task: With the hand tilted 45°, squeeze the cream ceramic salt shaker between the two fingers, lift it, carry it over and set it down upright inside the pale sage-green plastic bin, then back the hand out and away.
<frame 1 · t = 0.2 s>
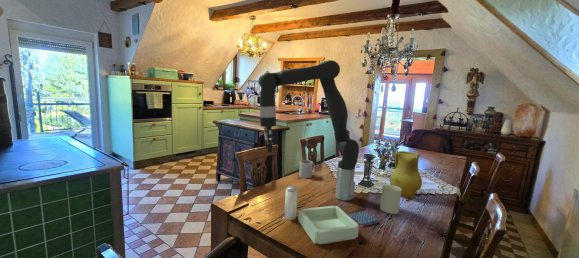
hand: (268, 149, 123), 28 cm above the table, tool pointing down, fingers open, 8 cm apart
sage bin: (326, 228, 109), on the table
salt shaker: (290, 216, 117), on the table
can: (389, 209, 130), on the table
pitcher: (403, 193, 153), on the table
mug: (307, 175, 175), on the table
woven mat: (362, 221, 118), on the table
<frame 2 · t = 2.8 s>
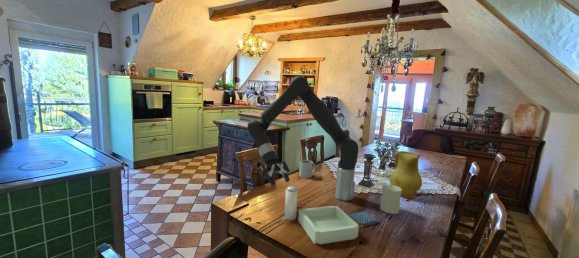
hand: (281, 183, 121), 14 cm above the table, tool tilted 45°, fingers open, 8 cm apart
nothing on the table moved.
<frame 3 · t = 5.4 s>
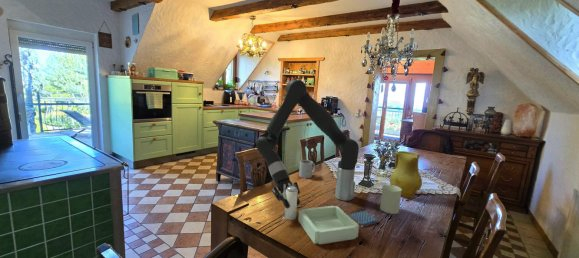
hand: (293, 205, 115), 6 cm above the table, tool tilted 45°, fingers closed on salt shaker, 5 cm apart
salt shaker: (290, 216, 117), on the table, touching gripper
everything else where it was.
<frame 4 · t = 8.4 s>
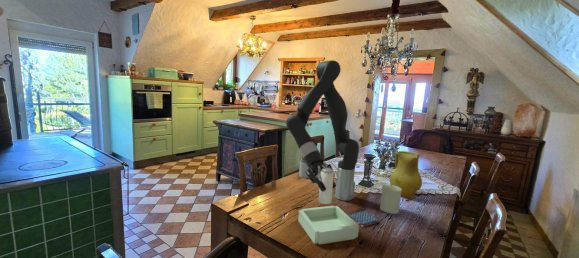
hand: (329, 189, 106), 18 cm above the table, tool tilted 45°, fingers closed on salt shaker, 5 cm apart
salt shaker: (325, 201, 108), point 12 cm above the table, touching gripper
everything else where it was.
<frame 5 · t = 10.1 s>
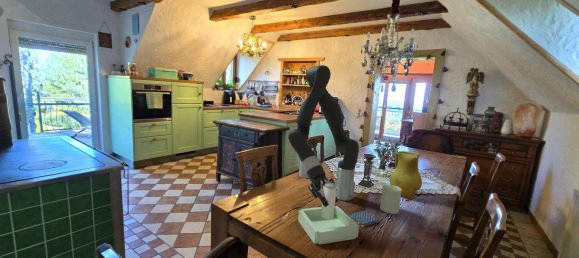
hand: (331, 204, 106), 12 cm above the table, tool tilted 45°, fingers closed on salt shaker, 5 cm apart
salt shaker: (327, 216, 108), point 6 cm above the table, touching gripper
everything else where it was.
when the fingers open (9 cm above the table, at t = 11.3 s): salt shaker drops 2 cm, resting on sage bin.
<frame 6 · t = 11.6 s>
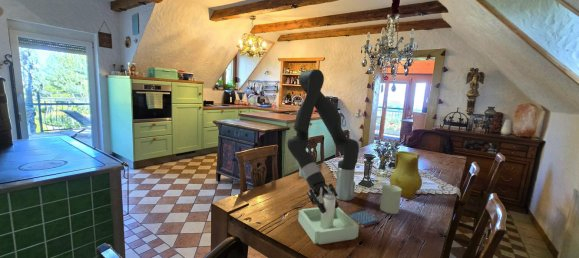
hand: (330, 210, 107), 9 cm above the table, tool tilted 45°, fingers open, 7 cm apart
salt shaker: (326, 226, 109), point 1 cm above the table, touching sage bin
everything else where it was.
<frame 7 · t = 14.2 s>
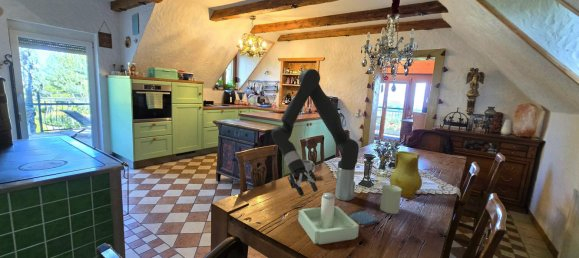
hand: (309, 193, 116), 12 cm above the table, tool tilted 45°, fingers open, 8 cm apart
nothing on the table moved.
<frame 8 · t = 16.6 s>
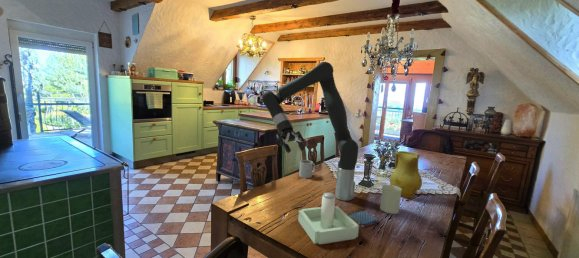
hand: (296, 151, 122), 29 cm above the table, tool tilted 45°, fingers open, 8 cm apart
nothing on the table moved.
at the end: salt shaker inside the target area on the sage bin (0.1 cm from its centre), point 1.1 cm above the sage bin's base; salt shaker tilted 2°; the gripper is holding nothing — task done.
